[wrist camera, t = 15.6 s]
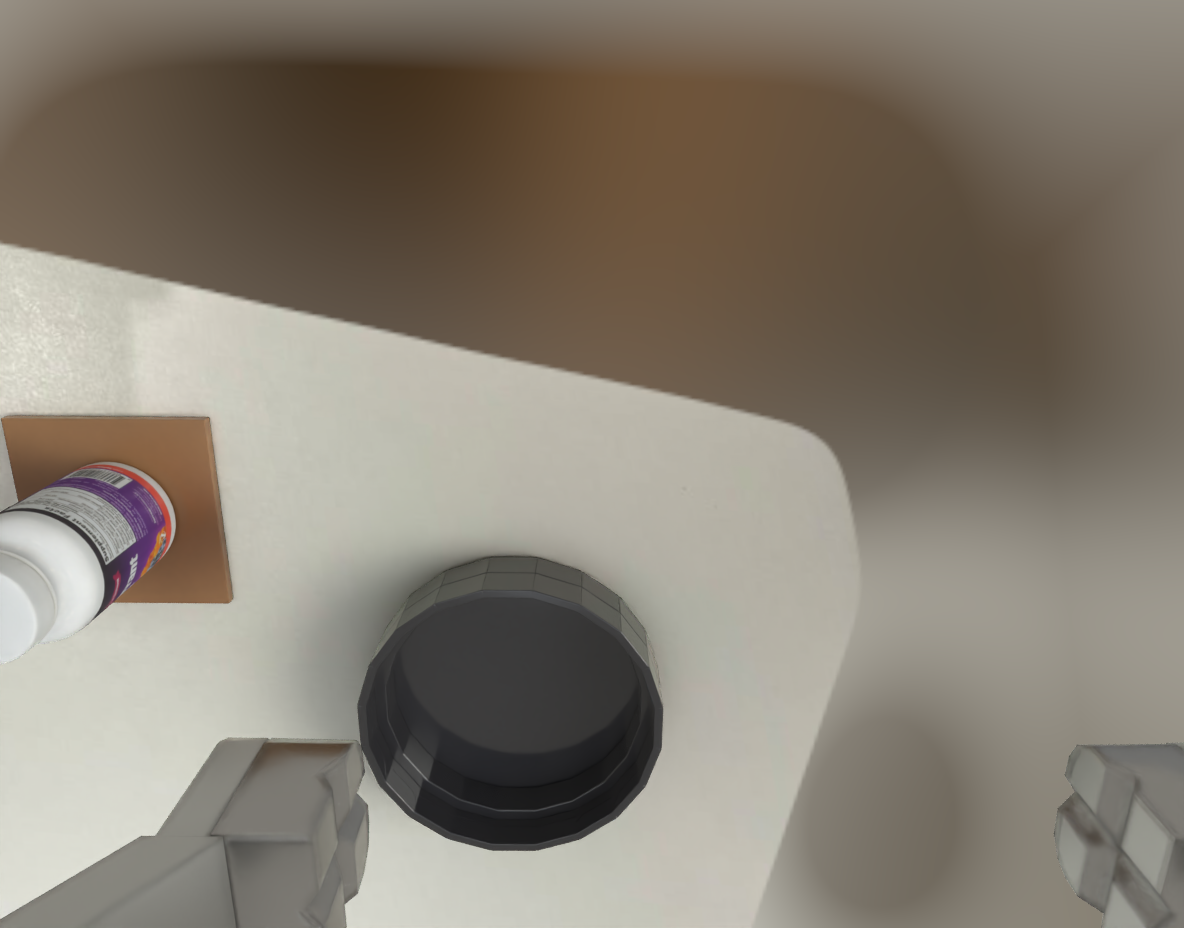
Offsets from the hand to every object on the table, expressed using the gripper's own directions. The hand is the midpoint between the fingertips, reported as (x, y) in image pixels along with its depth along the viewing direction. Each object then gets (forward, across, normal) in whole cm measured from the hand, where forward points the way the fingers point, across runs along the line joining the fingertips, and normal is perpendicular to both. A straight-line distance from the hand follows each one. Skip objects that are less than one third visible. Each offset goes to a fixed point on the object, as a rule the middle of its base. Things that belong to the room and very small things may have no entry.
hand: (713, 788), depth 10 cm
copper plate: (+29, +23, +8) cm, 38 cm away
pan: (+29, +5, +17) cm, 34 cm away
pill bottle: (+29, +23, +8) cm, 38 cm away
